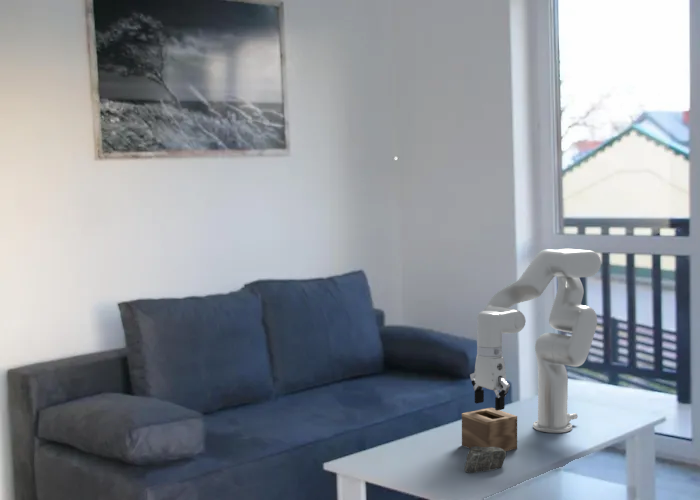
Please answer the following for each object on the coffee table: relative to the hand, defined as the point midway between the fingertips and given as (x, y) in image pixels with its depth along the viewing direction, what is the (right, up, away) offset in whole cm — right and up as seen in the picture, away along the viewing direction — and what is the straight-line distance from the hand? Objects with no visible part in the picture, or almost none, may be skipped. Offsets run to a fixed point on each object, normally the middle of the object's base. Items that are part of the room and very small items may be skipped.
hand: (489, 406), depth 281 cm
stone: (-5, -15, -18) cm, 24 cm away
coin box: (0, -13, +1) cm, 13 cm away
